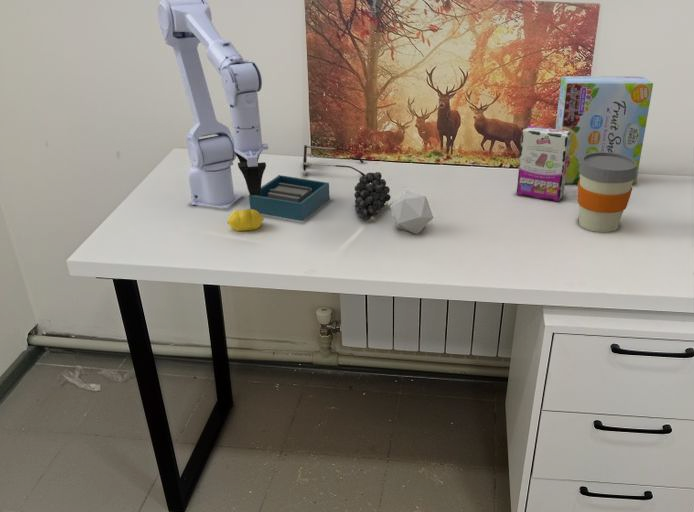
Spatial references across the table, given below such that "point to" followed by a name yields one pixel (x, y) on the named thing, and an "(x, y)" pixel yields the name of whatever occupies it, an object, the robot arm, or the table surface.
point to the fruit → (370, 195)
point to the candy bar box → (543, 162)
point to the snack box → (603, 117)
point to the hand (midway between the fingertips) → (253, 188)
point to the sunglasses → (325, 164)
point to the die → (411, 212)
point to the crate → (289, 207)
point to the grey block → (290, 192)
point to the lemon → (245, 220)
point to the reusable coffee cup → (604, 189)
